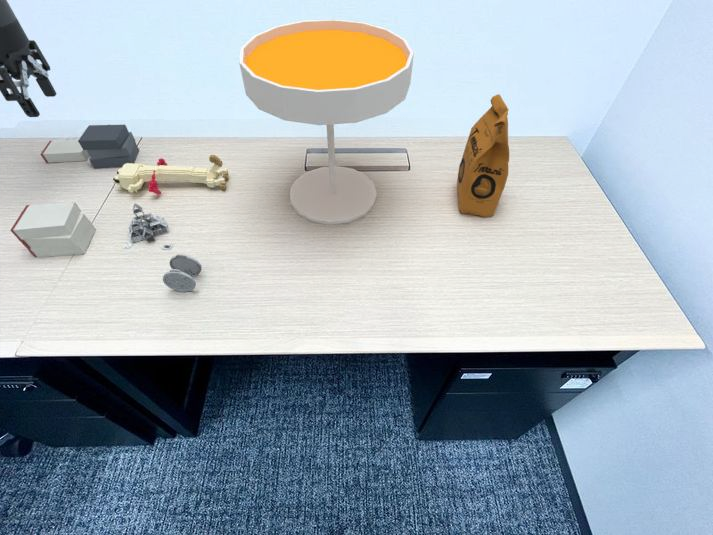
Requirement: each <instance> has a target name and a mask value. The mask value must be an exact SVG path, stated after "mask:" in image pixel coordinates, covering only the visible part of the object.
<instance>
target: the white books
mask: <svg viewBox="0 0 713 535" xmlns="http://www.w3.org/2000/svg"><path fill="white" fill-rule="evenodd" d="M81 212H82V210H81V208H80V207H79V205H78V204H77V203H76V202H75V201H67V202H66V201H65V202H55V203H43V204H34V205H30V204H27V205H25V206H24V208H23V210H22V211H21V212H20V215H19V216H18V217H17V219H16V221H15V222H14V224H13V225H12V227H11V228H10V232H11V233H12V234H13V236H14V237H16V239H18V241H19V242H20V243H21V244H22V245H23V246H24V248H26V249H27V251H28V252H29V253H30V254H31V255H32V256H33V257H34V258H47V257H48V258H49V257H60V256H61V257H62V256H74V255H77V256H78V255H85V254H86V253H87V250H88V248H89V245H90V244H91V241H92V239H93V237H94V235H95V232H96V228H95V226H94V225H93V223H92V222H91V220H89V219H88V217H87V216H86V214H85V213H81Z"/></svg>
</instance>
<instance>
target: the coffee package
mask: <svg viewBox="0 0 713 535" xmlns="http://www.w3.org/2000/svg"><path fill="white" fill-rule="evenodd" d="M490 104H491V106H490V108H489V109H488V110H486V111H485V113H484V114H483V115H482V116H481V117H480V118H479V119H477V121H476V122H475V123H474V124H473V126H472V127H471V128H470V132H469V135H468V138H467V141H466V144H465V147H464V150H463V153H462V157H461V160H460V163H459V165H458V172H457V180H456V192H457V200H458V202H457V203H458V207H459V210H460V212H461V214H465V215H466V214H469V215H473V216H480V217H482V218H486V217H487V218H488V217H494V215H495V212H496V210H497V208H498V206H499V203H500V200H501V197H502V194H503V192H504V189H505V187H506V184H507V180H508V176H509V162H510V146H509V120H508V118H509V117H508V115H509V108H508V106H507V104H506V103H505V101H504V100H503V98H502V96H501V94H500V93H498V94H496V95H494V96H491V99H490Z"/></svg>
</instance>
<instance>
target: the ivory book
mask: <svg viewBox="0 0 713 535" xmlns="http://www.w3.org/2000/svg"><path fill="white" fill-rule="evenodd" d="M79 139H80V138H78V139H77V138H76V139H57V140H56V139H55V140H49V141H48V142H47V144H46V145H45V147H44V149H43V150H41V153H40V156H41V157H42V159H43V161H44V162H45V163H46V164H51V163H52V164H53V163H69V162H86V161H88V158H90V155H89V154H88V152H87V150H83V149H82V147H81V145H80V144H79V142H78V140H79Z"/></svg>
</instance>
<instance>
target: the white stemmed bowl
mask: <svg viewBox="0 0 713 535" xmlns="http://www.w3.org/2000/svg"><path fill="white" fill-rule="evenodd" d="M408 42H409V41H408V40H407V39H406V38H404V37H403V36H400V35H399V34H397V33H395V32H393V31H392V30H390V29H388V28H386V27H381V26H378V25H374V24H370V23H367V22H363V21H353V20H344V19H334V18H333V19H314V20H311V19H309V20H301V21H297V22H290V23H286V24H281V25H275V26H274V27H273V26H272V27H271V28H269V29H266V30H264V31H262V32H259V33H257V34H255V35H253V36H252V37H251V38H249V39H248V40H247V42H246V43H244V44H243V45H242V46H241V47H240V50H239V62H238V64H239V69H240V72H241V77H242V82H243V87H244V93H245V96H246V97H247V98H248V99H249V101H251V102H252V103H253V105H254V106H255V107H256V108H257V109H258V110H259V111H262V112H264V113H266V114H269V115H271V116H273V117H275V118H278V119H280V120H282V121H286V122H292V123H293V122H294V123H301V124H308V125H314V126H326V139H327V140H326V141H327V142H326V143H327V158H328V159H327V160H328V166H322V167H317V168H315V169H312V170H308V171H306V172H304V173H303V174H302V175H301V176H299V177H298V178H297V179H295V180H294V182H293V184H292V186H291V187H290V189H289V199H290V200H289V201H290V206H292V208H293V210H295V212H296V213H297V214H298V215H299V216H301V217H303V218H304V219H306V220H309V221H310V222H312V223H318V224H323V225H328V226H330V225H338V224H339V225H340V224H341V225H342V224H349V223H351V222H353V221H356V220H358V219H361V218H363V217H365V215H366V214H367V213H369V212H370V211H371V210H372V209H373V208H374V206H375V202H376V200H377V197H378V193H377V189H376V186H375V183H374V182H373V181H372V179H370V178H369V177H368V176H367V175H366V174H365V173H363V172H361V171H358V170H356V169H354V168H352V167H345V166H339V165H336V151H335V150H336V148H335V125H343V124H344V125H345V124H357V123H360V122H363V121H366V120H370V119H373V118H376V117H380V116H383V115H385V114H388V113H389V112H391V111H392V110H394V108H396V107H398V106H399V105H400V104H401V103H402V102H404V101H405V100H406V99H407V95H408V92H409V89H410V86H411V81H412V73H413V64H414V55H415V54H414V50H413V49H412V47H411V46H410V44H409V43H408Z"/></svg>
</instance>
